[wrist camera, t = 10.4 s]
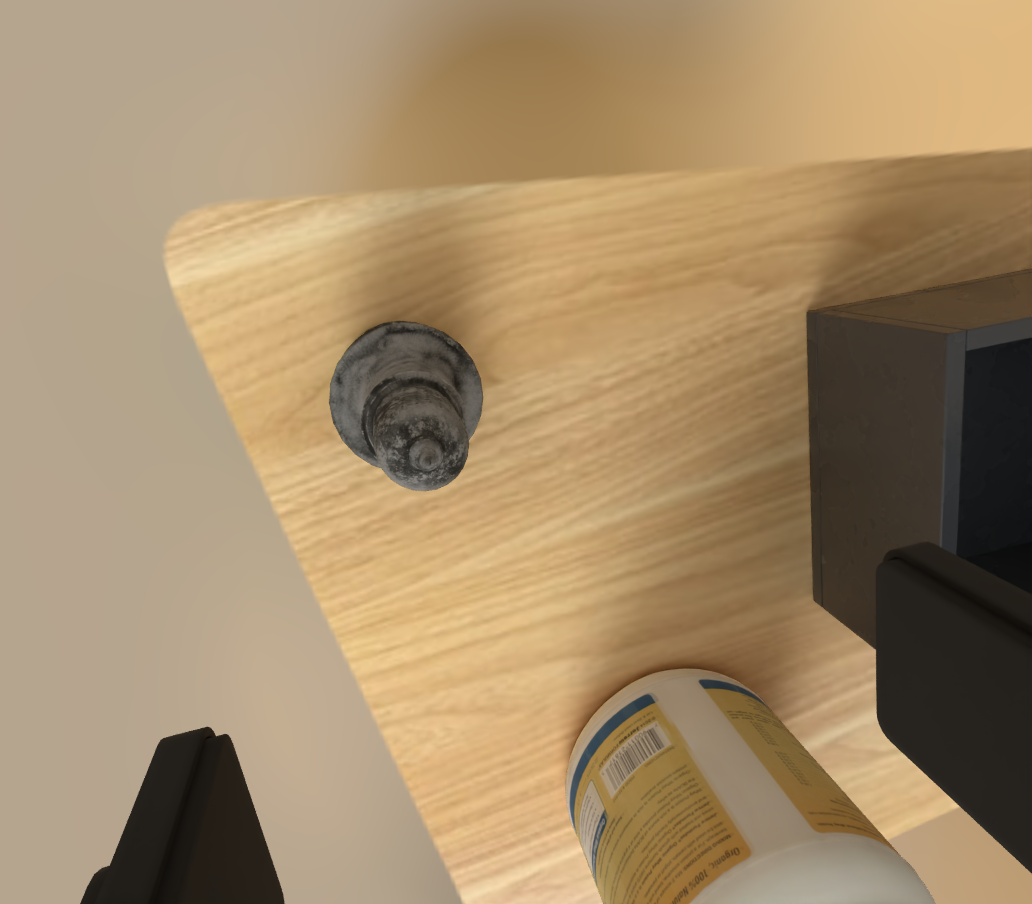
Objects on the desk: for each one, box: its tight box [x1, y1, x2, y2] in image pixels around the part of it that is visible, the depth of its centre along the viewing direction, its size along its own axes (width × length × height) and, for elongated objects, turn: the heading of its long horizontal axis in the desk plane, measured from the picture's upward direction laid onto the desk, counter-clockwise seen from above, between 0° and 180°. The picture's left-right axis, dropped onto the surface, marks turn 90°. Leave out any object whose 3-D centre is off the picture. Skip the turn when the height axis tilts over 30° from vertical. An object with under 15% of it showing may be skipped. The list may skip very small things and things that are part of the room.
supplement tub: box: [565, 669, 935, 904], centre depth 32 cm, size 12×12×17 cm
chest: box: [807, 269, 1032, 649], centre depth 34 cm, size 16×14×9 cm
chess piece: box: [329, 321, 483, 491], centre depth 26 cm, size 6×6×12 cm
